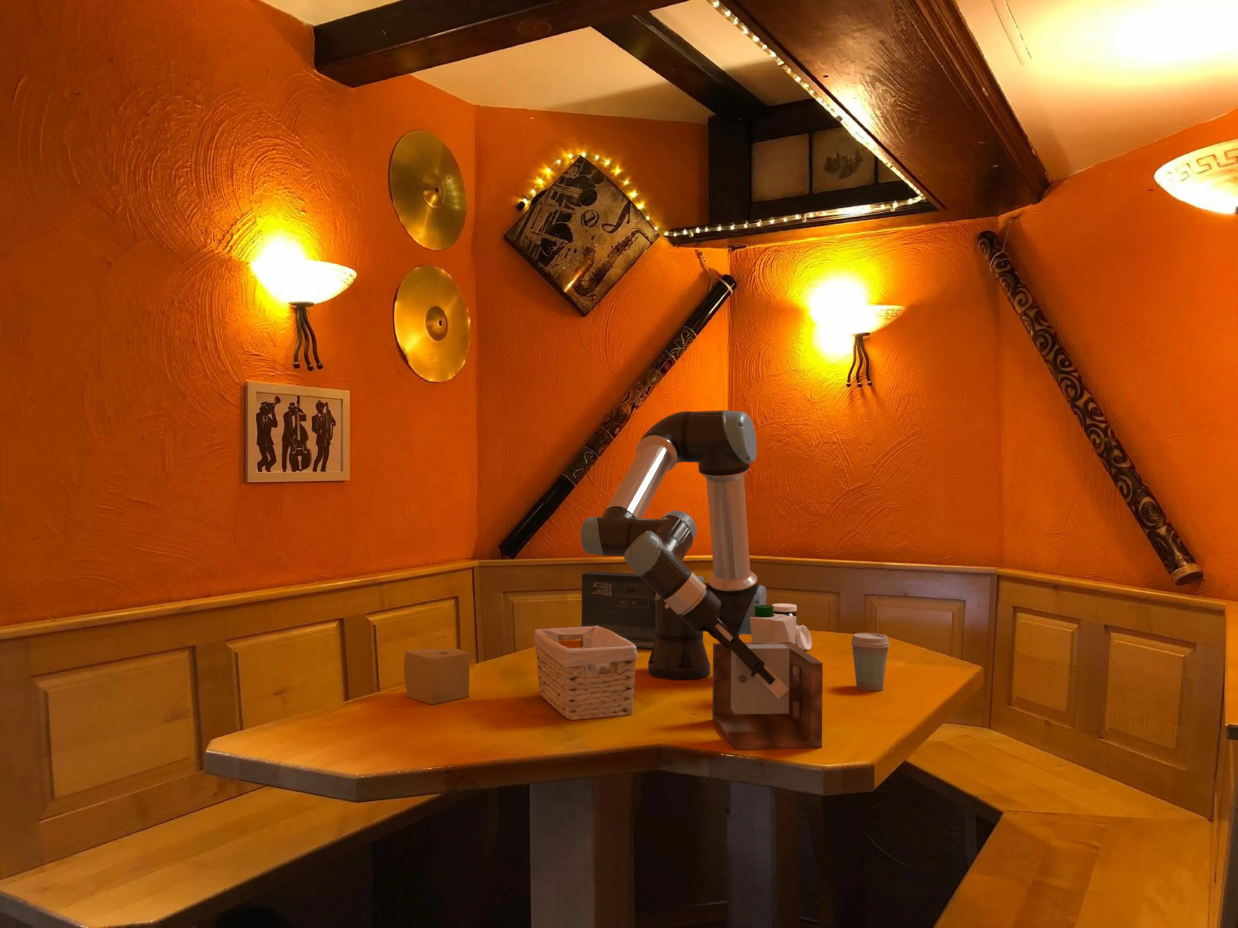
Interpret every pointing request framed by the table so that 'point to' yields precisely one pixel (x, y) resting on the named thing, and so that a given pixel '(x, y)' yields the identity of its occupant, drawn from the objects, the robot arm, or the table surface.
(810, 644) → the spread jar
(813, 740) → the cabinet
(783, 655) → the door
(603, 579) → the cassette player
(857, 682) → the coffee cup
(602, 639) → the storage basket
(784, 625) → the milk carton
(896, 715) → the table surface
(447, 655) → the beige cube with hole
